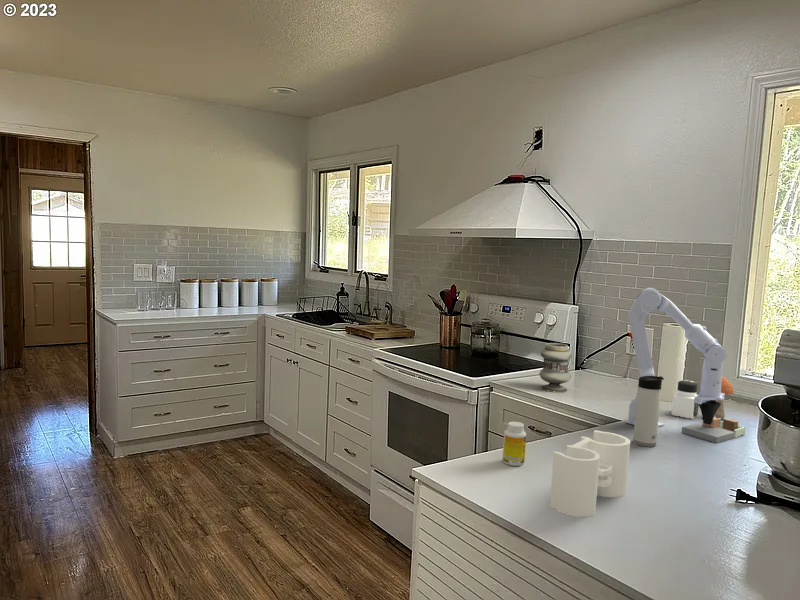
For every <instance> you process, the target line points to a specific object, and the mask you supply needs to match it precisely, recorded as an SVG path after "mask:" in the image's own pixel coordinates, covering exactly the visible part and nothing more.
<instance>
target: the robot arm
mask: <svg viewBox="0 0 800 600" xmlns="http://www.w3.org/2000/svg"><path fill="white" fill-rule="evenodd" d="M655 309H657V311H659V312H660V311H661V312H663V313H666V314H667V315H669V317H670V318H671V319H673V320H674V321H675V322H676V324H678V325H679V326H680V327H681V328H682V329H683V330H684V337H685V338H686V340H688V341H689V342H690V344H691V345H693V347H695V349H696V350H697V351H699V352H702V355H703V357H704V358H703V364H702V370H701V377H700V378H701V380H700V389H699V390H700V391H699V393H698V394H696V395H697V396H696V397H694V403H697V404H698V405H699V409H700V412H701V418H702V420H703V423H705V424H709V425H710V424H711V423H712V421H713V418H714V417H715V413H716V411H717V410H718V408H719V407H720V406H721V403H720V402H717V400H723V401H724V400H725V393H721V384H722V376H723V372H724V371H723V370H724V368H723V367H724V361H725V360H726V358H727V354H726V349H725V348H724V347H723V346H722V345H721V344H720V343H719V342H718V339H717V338H714V337H713V336H712V335H711V334H710V333H709V332H708V331H707V329H708V328H707V327H706V326H705V325H703V326H702V325H701V324H699V323H693V322H692V321H691V320H690V319H689V317H688V318H687V316H686V315H685V314H684V313H683V312H682V311H681V310H680V309H679V308H678V307H677V306H676V304H675V303H674V302H672V301H671V300H670V299H669V298H667V297H666V296H664V295H663V294H662V293H660V292H659V290H657V289H656V288H654V287H647V288H644V289H642V290H641V291H640V292H639V293H638V294H637V295H636V297H635V299H634V301H633V302H632V306H631V308H630V310H629V312H628V314H627V315H628V317H627V318H628V322H629V327H630V331H631V333H630V334H631V336H632V342H633V348H634V351H635V358H636V361H637V368H638V372H639V378H640V377H642V376H656V374H655V370H654V364H653V360H652V355H651V354H652V353H651V349H650V345H649V339H648V335H647V334H648V333H647V331H646V330H647V329H646V325H645V318H646V317H647V316H648V315H649V314H650V312H652V311H654V310H655ZM636 403H637V395H636V397H635V398H634V399H632V400H631V401H630V403H629V408H628V419H627V420H626V421H625V423H627V424H630V425H635V414H636ZM664 425H665V424H664V423H663V422H660V421H658V427H661V426H664Z"/></svg>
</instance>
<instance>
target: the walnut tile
mask: <svg viewBox="0 0 800 600" xmlns="http://www.w3.org/2000/svg"><path fill="white" fill-rule="evenodd" d="M722 421H723V427H722V428H723V429H726V430H730V431H734V430H735V429H738V426H739V421H738V420H736V419H731V418H728V417H727V418H724V419H722Z"/></svg>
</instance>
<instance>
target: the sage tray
mask: <svg viewBox="0 0 800 600" xmlns="http://www.w3.org/2000/svg"><path fill="white" fill-rule="evenodd" d="M700 423H703V419H702V420H700ZM722 427H723V420H721V421H720V427H719V428H722ZM734 432H736V434H735V437H736V438H739V437H742V436H741V435H743V436H745V435H746V434H745V433H746V427H745V426H741V425H738V429H735V430H734ZM744 434H745V435H744ZM738 436H739V437H738Z"/></svg>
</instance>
